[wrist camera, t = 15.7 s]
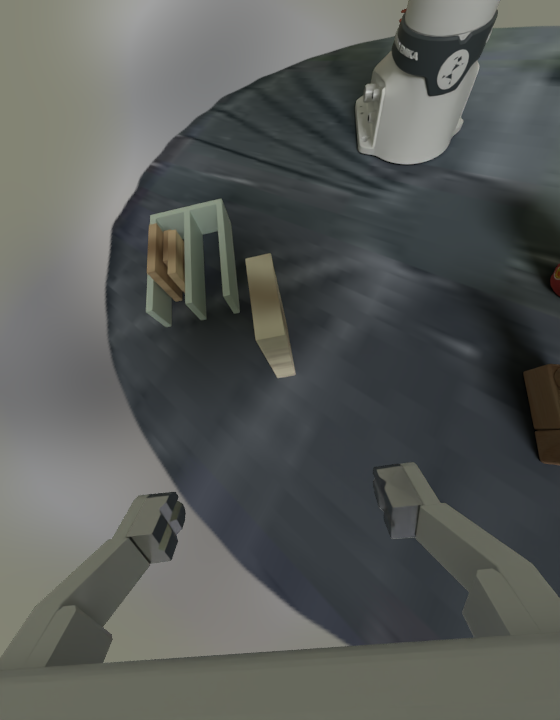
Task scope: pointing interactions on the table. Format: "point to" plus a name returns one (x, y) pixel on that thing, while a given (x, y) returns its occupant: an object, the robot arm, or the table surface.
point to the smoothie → (556, 280)
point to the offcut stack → (166, 261)
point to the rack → (196, 259)
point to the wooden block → (545, 410)
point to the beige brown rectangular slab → (269, 315)
